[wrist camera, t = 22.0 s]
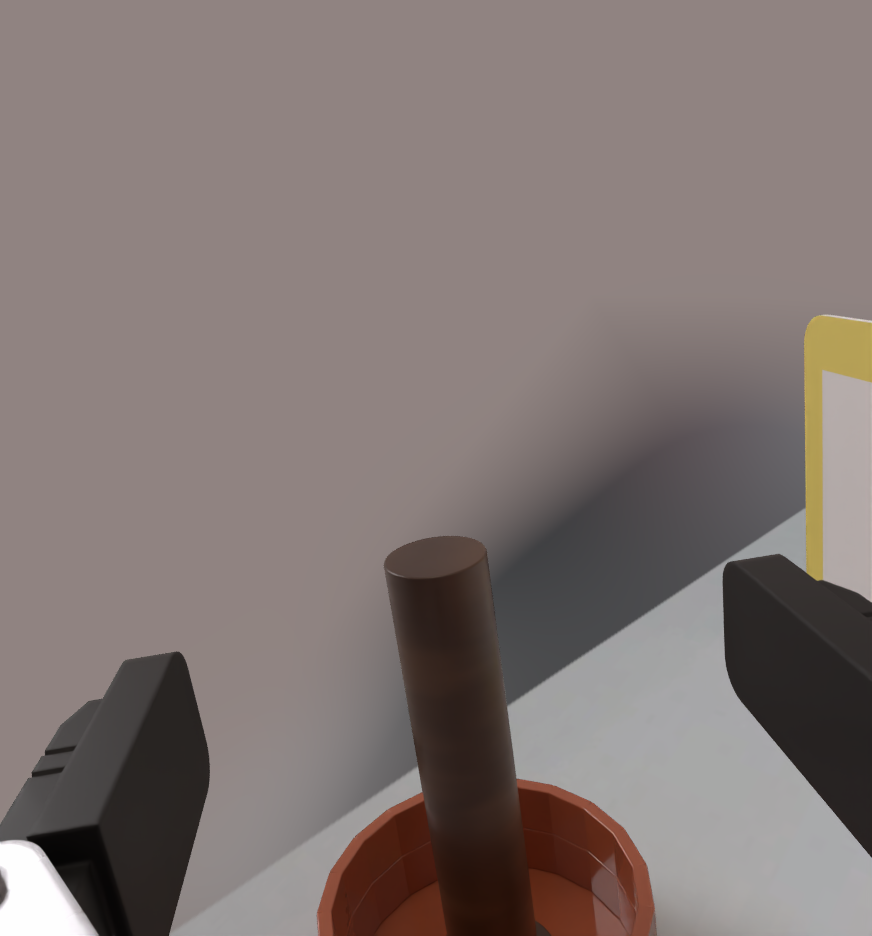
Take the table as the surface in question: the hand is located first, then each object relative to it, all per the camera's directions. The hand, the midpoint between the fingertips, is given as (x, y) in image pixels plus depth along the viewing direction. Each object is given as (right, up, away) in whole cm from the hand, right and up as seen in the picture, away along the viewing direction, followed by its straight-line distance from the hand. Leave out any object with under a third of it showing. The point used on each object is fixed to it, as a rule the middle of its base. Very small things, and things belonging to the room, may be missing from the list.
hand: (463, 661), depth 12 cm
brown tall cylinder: (+2, -15, +16) cm, 22 cm away
